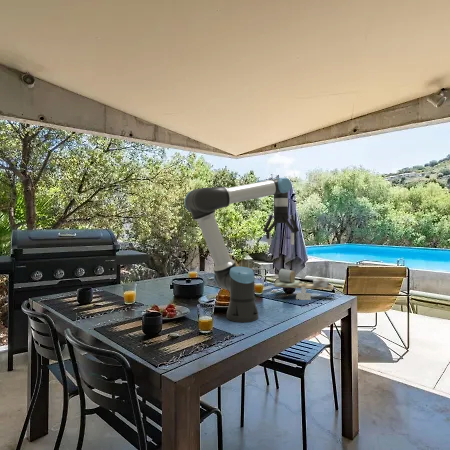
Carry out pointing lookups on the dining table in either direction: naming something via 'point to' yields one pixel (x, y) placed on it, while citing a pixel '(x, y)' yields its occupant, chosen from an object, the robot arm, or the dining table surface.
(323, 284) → the balance beam
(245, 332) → the dining table surface
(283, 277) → the ceramic mug
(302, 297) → the stand
